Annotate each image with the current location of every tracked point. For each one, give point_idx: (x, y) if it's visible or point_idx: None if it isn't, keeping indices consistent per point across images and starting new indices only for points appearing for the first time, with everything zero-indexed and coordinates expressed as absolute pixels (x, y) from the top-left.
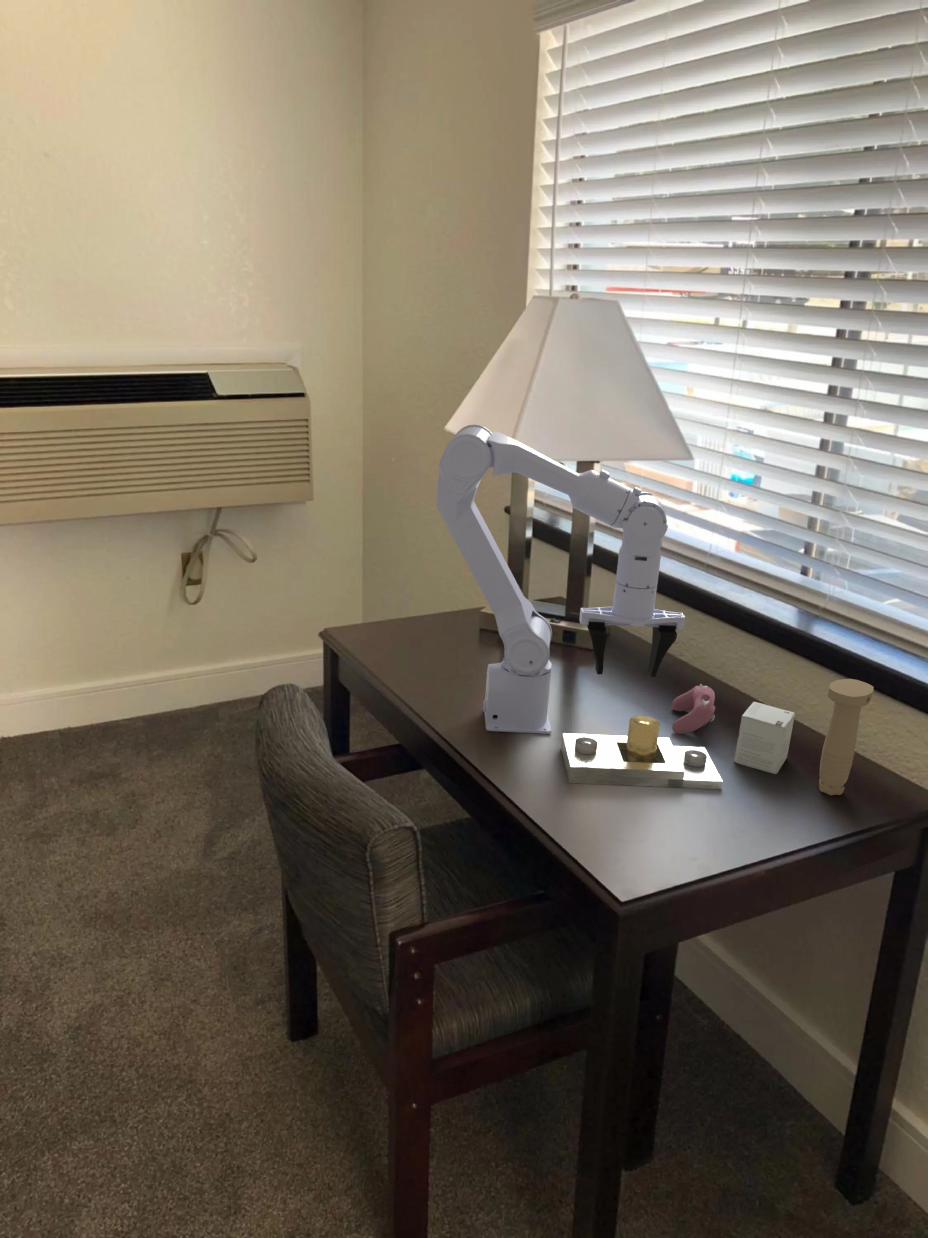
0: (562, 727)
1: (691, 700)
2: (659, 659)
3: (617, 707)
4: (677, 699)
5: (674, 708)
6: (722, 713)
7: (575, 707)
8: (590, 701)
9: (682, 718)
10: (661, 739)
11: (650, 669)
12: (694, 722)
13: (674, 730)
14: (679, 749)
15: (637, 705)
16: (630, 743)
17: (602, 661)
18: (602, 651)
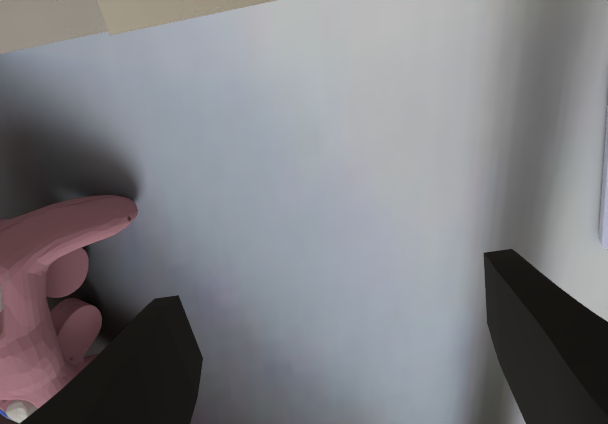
0: (548, 137)
1: None
2: (92, 375)
3: (336, 330)
4: None
5: None
6: None
7: (480, 300)
8: (425, 349)
9: (87, 228)
10: (139, 8)
11: (181, 345)
12: (40, 213)
13: (128, 201)
14: (70, 4)
15: (272, 356)
16: None
17: (527, 295)
18: (576, 347)
